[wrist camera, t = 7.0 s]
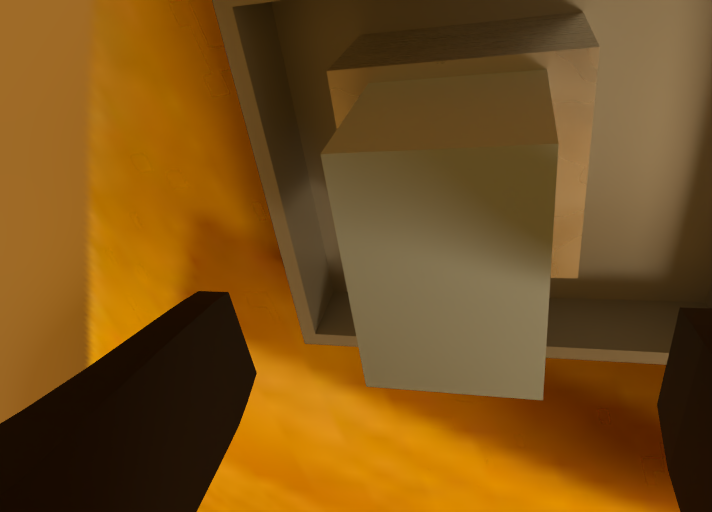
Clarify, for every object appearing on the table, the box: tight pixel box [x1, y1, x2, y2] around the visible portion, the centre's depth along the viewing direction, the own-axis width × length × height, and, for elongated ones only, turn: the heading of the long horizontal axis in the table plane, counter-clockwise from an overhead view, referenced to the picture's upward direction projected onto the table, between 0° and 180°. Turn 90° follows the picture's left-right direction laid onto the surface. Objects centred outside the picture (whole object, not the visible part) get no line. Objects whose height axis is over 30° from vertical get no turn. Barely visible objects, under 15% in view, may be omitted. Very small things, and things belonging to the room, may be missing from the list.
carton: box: [320, 69, 559, 400], centre depth 12 cm, size 4×6×4 cm, turn 9°
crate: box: [212, 0, 712, 365], centre depth 16 cm, size 14×12×3 cm
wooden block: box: [327, 12, 600, 278], centre depth 15 cm, size 6×6×4 cm
